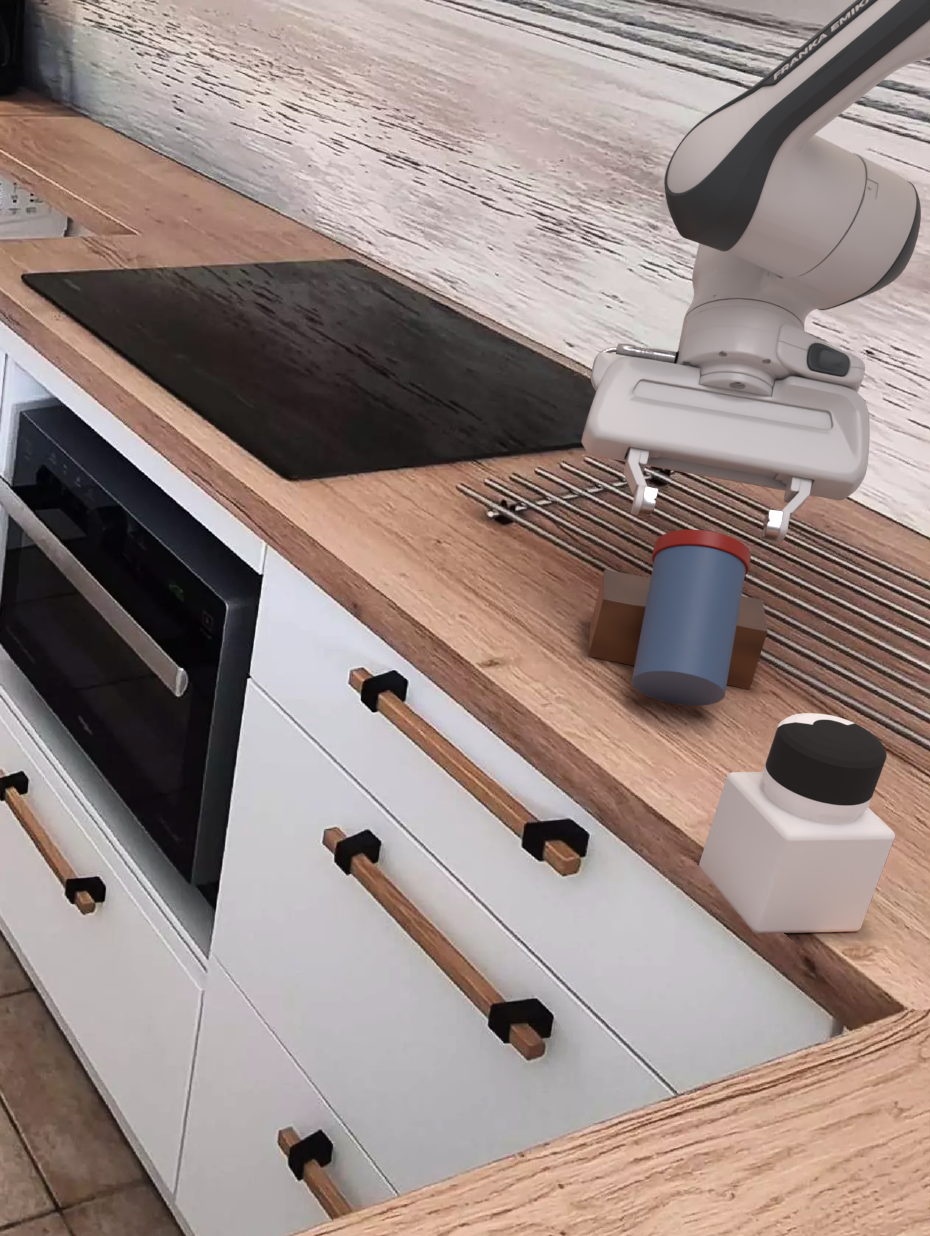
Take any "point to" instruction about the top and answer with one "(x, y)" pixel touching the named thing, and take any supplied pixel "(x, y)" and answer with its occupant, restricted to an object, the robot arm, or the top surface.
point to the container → (690, 617)
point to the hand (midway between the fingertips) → (707, 525)
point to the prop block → (623, 619)
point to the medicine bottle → (802, 830)
